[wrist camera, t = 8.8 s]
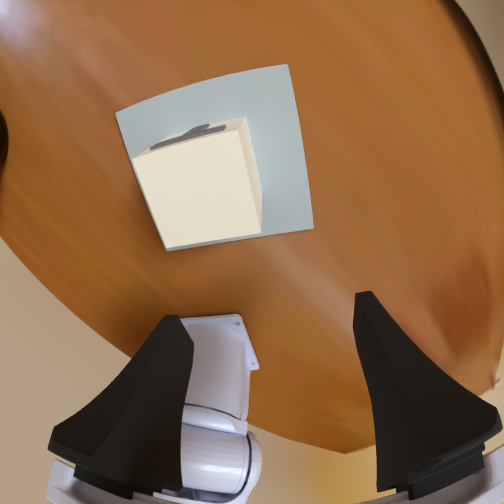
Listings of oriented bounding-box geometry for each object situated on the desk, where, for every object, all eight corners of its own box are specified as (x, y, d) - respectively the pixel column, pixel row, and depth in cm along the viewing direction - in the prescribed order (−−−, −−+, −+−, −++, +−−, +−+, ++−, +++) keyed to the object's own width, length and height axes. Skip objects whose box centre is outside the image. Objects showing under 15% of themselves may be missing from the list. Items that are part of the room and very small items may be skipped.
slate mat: (313, 226, 19) (313, 228, 18) (167, 249, 20) (166, 251, 20) (287, 64, 13) (287, 64, 12) (117, 112, 14) (115, 112, 14)
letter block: (262, 192, 17) (261, 233, 13) (188, 206, 18) (166, 248, 14) (245, 114, 14) (236, 126, 10) (165, 134, 15) (130, 155, 11)
